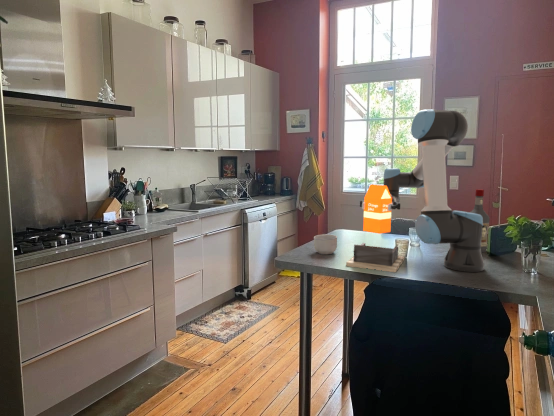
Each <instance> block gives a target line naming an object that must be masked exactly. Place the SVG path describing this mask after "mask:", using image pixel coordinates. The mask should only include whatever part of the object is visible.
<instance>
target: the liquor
mask: <svg viewBox="0 0 554 416" xmlns="http://www.w3.org/2000/svg"><path fill="white" fill-rule="evenodd" d="M484 195H485V189H479V188H476V189H475V195H474V196H475V199H474V201H475V202H474V207H473V209H472V210H471V211H470V212H469V213H475V214H479V215H481V216H482V217H483V229H482V239H481V253H486V252H487V251H486V249H487V250H488V244H487V234H488V235H489V232H488V228H489V229H490V219H491V218H490V216H489V214H487V212H486V211H485V210H484V205H483V204H484Z"/></svg>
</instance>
